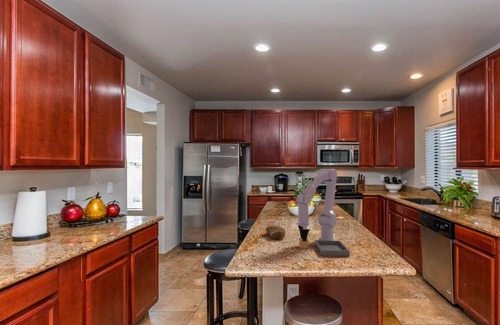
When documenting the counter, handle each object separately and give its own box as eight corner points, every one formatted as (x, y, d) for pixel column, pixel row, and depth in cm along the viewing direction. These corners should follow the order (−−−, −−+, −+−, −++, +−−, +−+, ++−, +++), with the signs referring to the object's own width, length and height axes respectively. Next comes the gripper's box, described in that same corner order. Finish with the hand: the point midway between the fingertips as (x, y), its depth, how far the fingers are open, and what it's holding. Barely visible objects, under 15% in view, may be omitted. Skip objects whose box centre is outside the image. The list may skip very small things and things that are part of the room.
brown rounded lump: (286, 242, 181) (285, 228, 200) (284, 230, 179) (283, 218, 199) (266, 245, 182) (267, 231, 202) (263, 234, 181) (264, 221, 200)
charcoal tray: (315, 245, 168) (315, 240, 168) (339, 245, 167) (339, 240, 167) (321, 256, 148) (321, 250, 148) (349, 256, 147) (349, 250, 147)
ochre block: (299, 245, 167) (299, 237, 167) (307, 246, 167) (307, 238, 167) (300, 248, 163) (299, 239, 163) (308, 248, 163) (308, 240, 163)
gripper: (295, 213, 173) (295, 236, 172) (297, 217, 158) (297, 242, 158) (307, 213, 172) (307, 236, 172) (310, 217, 158) (310, 242, 158)
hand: (303, 239), depth 165 cm, fingers open, 7 cm apart
